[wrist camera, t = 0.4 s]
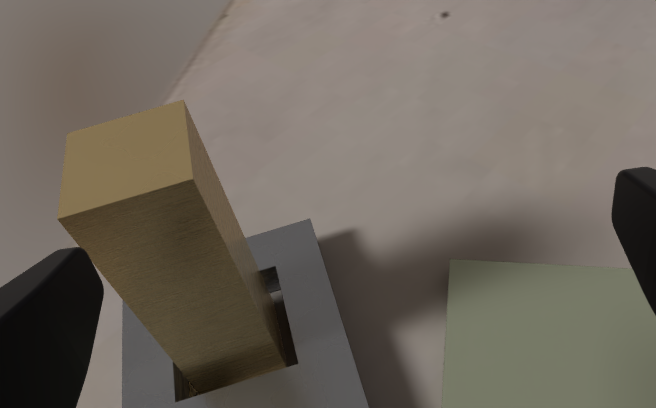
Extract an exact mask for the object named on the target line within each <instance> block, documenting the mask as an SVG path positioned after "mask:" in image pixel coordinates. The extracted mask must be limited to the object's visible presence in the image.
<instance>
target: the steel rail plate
mask: <svg viewBox="0 0 656 408" xmlns="http://www.w3.org/2000/svg"><path fill="white" fill-rule="evenodd" d="M245 239H246V241H247V244H248V246H249V248H250V250H251V253H252V255H253V257H254V259H255V262H256V264H257V266H258V268H259V271H260V273H261V275H262V277H263V280H264V282H265V284H266V286H267V289H268V291H269V293H270V292H273V291H277V290H280V289H281V291H282V295H283V300H284V304H285V308H286V312H287V317H288V321H289V325H290V330H291V334H292V338H293V342H294V347H295V351H296V355H297V359H298V364H296V365H293V366H290V367H286V368H283V369H280V370H277V371H274V372H271V373H267V374H264V375H261V376H258V377H255V378H252V379H248V380H245V381H242V382H239V383H236V384H233V385H229V386H226V387H223V388H220V389H217V390H214V391H210V392H207V393H204V394H201V395H198V396H195V397H191V398H190V395H189V383H188V379H187V378H186V377H185V375H184V374H183V373H182V372H181V371H180V369H179V368H178V367H177V366H176V364H175V363H174V362H173V361H172V359H171V358H170V357H169V356H168V355H167V353H166V352H165V351H164V350H163V348H162V347H161V346H160V345H159V343H158V342H157V341H156V340H155V339H154V337H153V336H152V335H151V334H150V332H149V331H148V330H147V329H146V327H145V326H144V325H143V324H142V323H141V321H140V320H139V319H138V318H137V316H136V315H135V314H134V313H133V312H132V310H131V309H130V308H129V307H128V305H127V304H126V303H125V302H124V300H123V330H122V408H369V406H368V403H367V400H366V397H365V393H364V390H363V387H362V384H361V381H360V377H359V374H358V371H357V368H356V364H355V361H354V358H353V355H352V352H351V348H350V345H349V342H348V339H347V336H346V332H345V329H344V326H343V323H342V319H341V316H340V313H339V310H338V307H337V303H336V300H335V297H334V294H333V290H332V287H331V284H330V281H329V278H328V274H327V271H326V268H325V265H324V262H323V258H322V255H321V252H320V249H319V245H318V242H317V239H316V236H315V233H314V229H313V226H312V223H311V220H310V219H307V220H304V221H300V222H297V223H294V224H291V225H287V226H284V227H281V228H277V229H274V230H271V231H268V232H264V233H261V234H258V235H254V236H251V237H248V238H245Z"/></svg>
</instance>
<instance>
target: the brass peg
mask: <svg viewBox="0 0 656 408" xmlns="http://www.w3.org/2000/svg"><path fill="white" fill-rule="evenodd" d="M57 219H58V220H59V222H60V223H61V224H62V225H63V227H64V228H65V229H66V230H67V232H68V233H69V234H70V235H71V237H72V238H73V239H74V240H75V241H76V243H77V244H78V245H79V246H80V248H83V249H84V250H85V251H86V252H87V253H88V255H89V257H90V259H91V261H92V262H93V264H94V265H95V266H96V267H97V269H98V270H99V271H100V272H101V273H102V275H103V276H104V277H105V278H106V280H107V281H108V282H109V283H110V284H111V286H112V287H113V288H114V289H115V291H116V292H117V293H118V294H119V296H120V297H121V298H122V299H123V300H124V302H125V303H126V304H127V305H128V307H129V308H130V309H131V310H132V312H133V313H134V314H135V315H136V316H137V318H138V319H139V320H140V321H141V323H142V324H143V325H144V326H145V327H146V329H147V330H148V331H149V332H150V334H151V335H152V336H153V337H154V339H155V340H156V341H157V342H158V343H159V345H160V346H161V347H162V348H163V350H164V351H165V352H166V353H167V355H168V356H169V357H170V358H171V359H172V361H173V362H174V363H175V364H176V366H177V367H178V368H179V369H180V371H181V372H182V373H183V374H184V375H185V377H186V378H187V379H188V380H189V382H190V383H191V384H192V385H193V386H194V388H195V389H196V390H197V391H198V393H199V394H200V395H201V394H204V393H207V392H210V391H214V390H217V389H220V388H223V387H226V386H229V385H233V384H236V383H239V382H242V381H245V380H248V379H252V378H255V377H258V376H261V375H264V374H267V373H271V372H274V371H277V370H280V369H283V368H286V367H288V365H287V360H286V356H285V351H284V346H283V342H282V337H281V333H280V328H279V324H278V319H277V314H276V310H275V305H274V302H273V300H272V298H271V295H270V293H269V291H268V289H267V286H266V284H265V282H264V280H263V277H262V275H261V273H260V271H259V268H258V266H257V264H256V262H255V259H254V257H253V255H252V253H251V250H250V248H249V246H248V244H247V241H246V239H245V237H244V235H243V232H242V230H241V228H240V226H239V223H238V221H237V219H236V217H235V214H234V212H233V210H232V208H231V205H230V203H229V201H228V199H227V196H226V194H225V192H224V190H223V187H222V185H221V183H220V181H219V178H218V176H217V174H216V172H215V169H214V167H213V165H212V163H211V160H210V158H209V156H208V154H207V151H206V149H205V147H204V145H203V142H202V140H201V138H200V136H199V133H198V131H197V129H196V127H195V124H194V122H193V120H192V118H191V115H190V113H189V111H188V109H187V106H186V104H185V102H184V100H181V101H177V102H174V103H170V104H167V105H164V106H160V107H157V108H153V109H150V110H146V111H143V112H139V113H136V114H133V115H129V116H126V117H122V118H119V119H115V120H112V121H108V122H105V123H101V124H98V125H95V126H91V127H88V128H84V129H81V130H77V131H74V132H71V133H68V134H67V140H66V150H65V158H64V166H63V175H62V183H61V192H60V200H59V209H58V217H57Z"/></svg>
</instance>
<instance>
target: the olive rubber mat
mask: <svg viewBox="0 0 656 408" xmlns="http://www.w3.org/2000/svg"><path fill="white" fill-rule="evenodd" d="M442 408H656V316H655V314H654V312H653V310H652V309H651V307H650V305H649V303H648V301H647V299H646V297H645V295H644V293H643V291H642V289H641V287H640V285H639V282H638V280H637V278H636V276H635V273H634V271H633V269H627V268H609V267H591V266H572V265H554V264H535V263H517V262H498V261H480V260H461V259H450V265H449V283H448V301H447V319H446V336H445V354H444V372H443V390H442Z"/></svg>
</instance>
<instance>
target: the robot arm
mask: <svg viewBox="0 0 656 408" xmlns="http://www.w3.org/2000/svg"><path fill="white" fill-rule="evenodd" d="M612 223H613V227H614V229H615V231H616V234H617V236H618V238H619V240H620V242H621V245H622V247H623V249H624V251H625V254H626V256H627V258H628V260H629V262H630V265H631V267H632V269H633V271H634V273H635V276H636V278H637V280H638V282H639V285H640V287H641V289H642V291H643V293H644V295H645V297H646V299H647V301H648V303H649V305H650V307H651V309H652V310H653V312H654V314H655V316H656V170H655V169H652V168H649V167H639V168H632V169H625V170H622V171H620V172H619V173H618V175H617V177H616V182H615V190H614V197H613V205H612ZM103 295H104V289H103V284H102V281H101V279H100V277H99V275H98V273H97V271H96V269H95V267H94V265H93V263H92V261H91V259H90V257H89V255H88V253H87V252H86V251H85V250H84V249H83V248H80V247H74V248H67V249H60V250H57V251H55V252H54V253H52V254H51V255H49V256H48V257H46V258H45V259H43V260H42V261H40V262H39V263H37V264H36V265H34V266H32V267H31V268H30V269H28V270H26V271H25V272H23V273H22V274H20V275H19V276H17V277H16V278H14V279H13V280H11V281H10V282H9V283H7V284H5V285H4V286H3V287H1V288H0V408H76V406H77V402H78V399H79V396H80V393H81V390H82V387H83V384H84V381H85V377H86V374H87V371H88V367H89V362H90V358H91V354H92V349H93V344H94V339H95V334H96V330H97V325H98V320H99V315H100V311H101V306H102V301H103Z"/></svg>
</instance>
